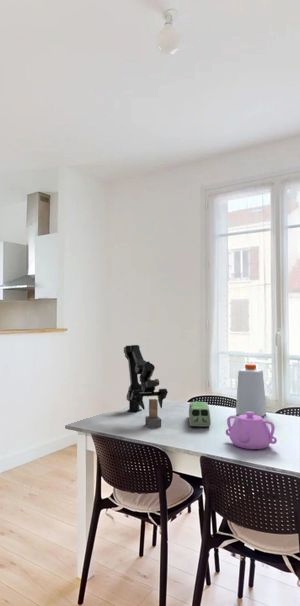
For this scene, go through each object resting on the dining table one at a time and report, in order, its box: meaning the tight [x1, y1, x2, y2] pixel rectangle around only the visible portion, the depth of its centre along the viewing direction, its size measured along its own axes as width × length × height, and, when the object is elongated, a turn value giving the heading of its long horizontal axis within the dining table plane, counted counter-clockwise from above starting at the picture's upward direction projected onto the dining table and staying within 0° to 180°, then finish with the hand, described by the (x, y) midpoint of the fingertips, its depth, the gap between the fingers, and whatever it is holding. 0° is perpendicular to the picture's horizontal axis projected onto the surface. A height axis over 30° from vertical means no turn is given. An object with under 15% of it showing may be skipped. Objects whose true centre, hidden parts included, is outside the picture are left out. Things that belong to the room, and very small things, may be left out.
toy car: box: [188, 401, 212, 428], centre depth 195 cm, size 11×25×10 cm, turn 175°
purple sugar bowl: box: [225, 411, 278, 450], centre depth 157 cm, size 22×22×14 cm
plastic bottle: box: [235, 363, 267, 418], centre depth 213 cm, size 15×15×28 cm
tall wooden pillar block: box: [144, 398, 162, 429], centre depth 189 cm, size 7×6×13 cm
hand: (152, 408), depth 189 cm, fingers open, 9 cm apart
